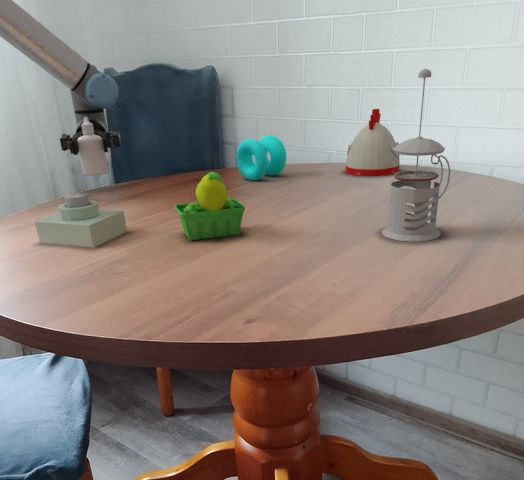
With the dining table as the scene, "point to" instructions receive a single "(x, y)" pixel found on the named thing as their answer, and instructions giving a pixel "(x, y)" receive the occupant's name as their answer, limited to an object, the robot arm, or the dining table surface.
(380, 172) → the kitchen timer
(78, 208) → the push button box
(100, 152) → the eye dropper bottle
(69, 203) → the grayish pink short cylinder
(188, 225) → the fruit basket
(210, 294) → the dining table surface
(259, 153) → the donuts
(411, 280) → the dining table surface
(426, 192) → the french press
